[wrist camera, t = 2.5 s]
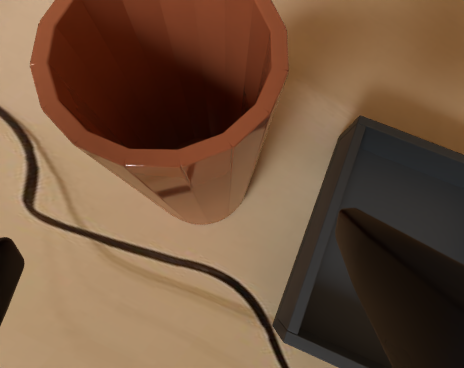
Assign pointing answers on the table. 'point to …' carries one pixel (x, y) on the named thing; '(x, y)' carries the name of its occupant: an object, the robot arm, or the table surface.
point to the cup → (165, 93)
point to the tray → (382, 208)
